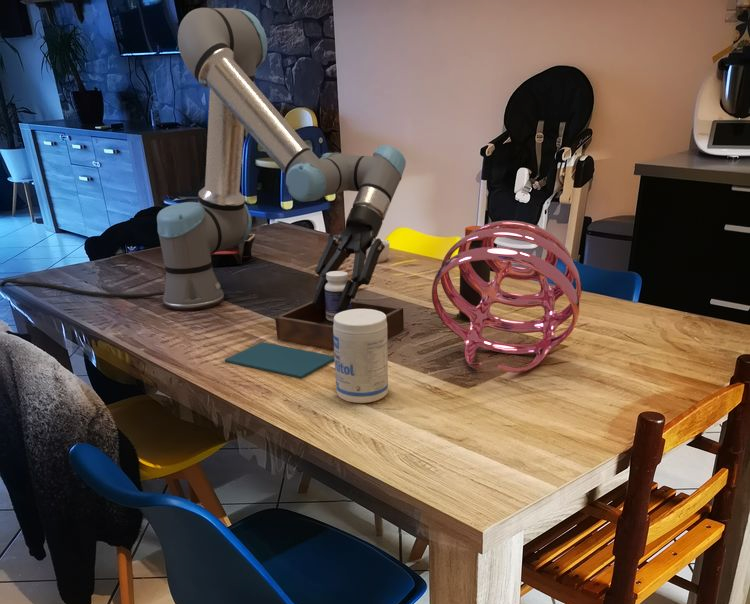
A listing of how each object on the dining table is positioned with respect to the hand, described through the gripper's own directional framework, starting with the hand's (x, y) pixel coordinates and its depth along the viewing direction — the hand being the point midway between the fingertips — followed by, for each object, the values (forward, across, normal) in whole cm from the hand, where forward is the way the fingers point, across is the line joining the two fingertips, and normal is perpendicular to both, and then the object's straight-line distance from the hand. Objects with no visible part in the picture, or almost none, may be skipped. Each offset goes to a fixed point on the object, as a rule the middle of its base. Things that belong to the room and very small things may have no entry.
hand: (328, 308), depth 161 cm
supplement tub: (+21, -23, +11) cm, 33 cm away
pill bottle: (0, 0, -5) cm, 5 cm away
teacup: (-40, +30, -51) cm, 72 cm away
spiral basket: (+1, -39, -9) cm, 40 cm away
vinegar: (-15, -21, -24) cm, 36 cm away
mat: (+16, +2, +6) cm, 17 cm away
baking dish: (-26, +71, -37) cm, 84 cm away
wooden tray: (+2, 0, -8) cm, 8 cm away
